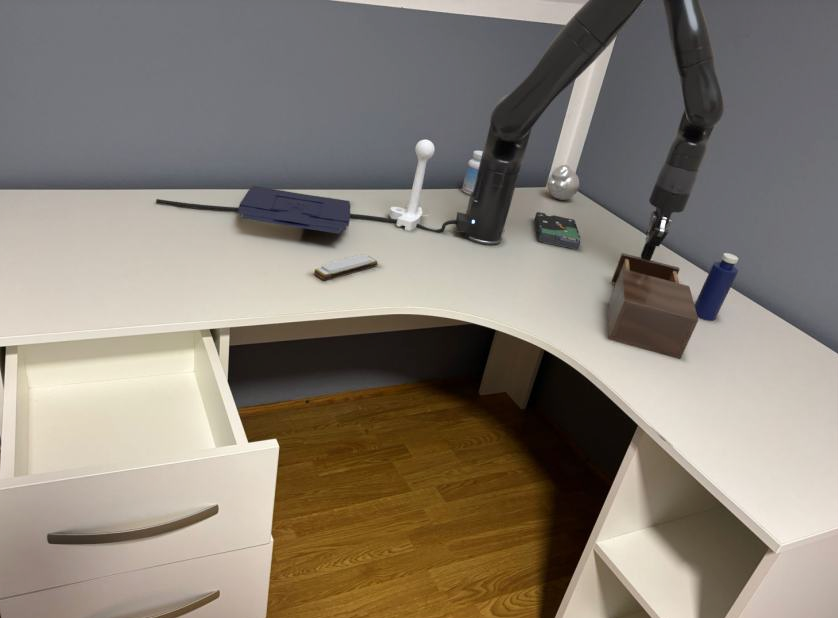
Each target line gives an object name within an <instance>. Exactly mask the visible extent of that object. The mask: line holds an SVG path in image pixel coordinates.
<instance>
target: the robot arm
mask: <svg viewBox="0 0 838 618" xmlns="http://www.w3.org/2000/svg"><path fill="white" fill-rule="evenodd" d="M644 2H645V0H588V1H586V2H585V3H584V4H583V6H581V7H580V8H579V10H578V11H576V12H575V14H574V15H573V16H572V17H571V19H569V20H568V22H566V23H565V25H564V26H563V27H562V28H561V30H560V31H559V32H558V33H557V34H556V36H555V37H554V39H553V40H552V42H550V44H549V45H548V47H547V49H546V50H545V51H544V53H543V54H542V56H541V57H540V59H539V60H538V62H537V64H535V66H534V68H533V69H532V70H531V72H530V73H529V74H528V76H526V77H525V78H524V79H523V81H521V82H520V84H519V85H518V86H517V87H515V89H513V90H512V91H511V92H510V93H507V94H505V95H503V96H502V97H501V98H500V99H499V100H498V101H497V102H496V103H495V105H494V107H493V109H492V111H491V113H490V118H489V119H490V121H489V123H490V124H489V128H488V133H487V136H486V140H485V144H484V147H483V150H482V151H483V153H482V157H481V161H480V165H479V169H478V173H477V177H476V182H475V186H474V190H473V192H471V195H470V196H469V200H468V204H467V207H466V212H460V211H457V214H456V218H455V219H451V220H447V221H445V222H443V223H442V225H441V228H439V229H432V228H429V227H426V226H425V225H422V224H421V223H420V224H417V225H416V228H417V229H421V230H424V231H427V232H432V233H436V234H440V233H443V232H444V231H445V229H446V227H447V226H449V225H455V231H456V232H461V233H462V236H463V239H467V240H470V241H472V242H475V243H478V244H482V245H490V246H491V245H498V244H501V242H502V238H503V235H504V234H505V231H506V230H505V226H506V223H507V219H508V215H509V212H510V208H511V205H512V202H513V197H514V193H515V190H516V186H517V183H518V179H519V176H520V172H521V169H522V165H523V162H524V159H525V154H526V152H527V147H528V144H529V140H530V137H531V133H532V131H533V127H534V126H535V124H536V123H537V122H538V120H539V119H540V117H541V116H542V115H543V114H544V112H545V111H546V110H547V108H548V107H549V106H550V105H551V104H552V102H553V101H554V100H555V99H556V98H557V97H558V96H559V95H560V94H561V93H562V92H563V91H564V90H565V89H566V88H568V87H569V86H570V85H571V84H572V83H573V82H575V81H576V80H577V79H578V78H579V77H580V76H581V75H582V74H583V73H584V72H585V71H586V70H588V68H589V67H590V66H591V65H592V64H593V63H594V62H595V61H596V60H597V59H598V58H599V56H601V54H603V52H604V51H606V49H607V48H608V47H609V46H610V45H611V44H612V43H613V41H614V40H616V38H617V37H618V35H619V34H620V32H622V30H623V29H624V28H625V27H626V25H627V24H628V23H629V22H630V20H631V19H632V17H633V16H634V14H635V13H636V12H637V10H638V9H639V8H640V7H641V5H642V4H643V3H644ZM662 3H663V7H664V11H665V17H666V22H667V28H668V36H669V42H670V47H671V51H672V52H671V53H672V56H673V60H674V66H675V70H676V73H677V76H678V79H679V82H680V86H681V93H682V99H683V106H684V108H683V113H682V115H681V119H680V122H679V125H678V127H677V132H676V135H675V137H674V139H673V142H672V143H671V145H670V147H669V150H668V152H667V156H666V158H665V161H664V163H663V165H662V167H661V169H660V171H659V173H658V176H657V177H656V180H655V183H654V185H653V186H654V187H653V189H652V191H651V194H650V197H649V199H648V202H649V204H650V205H651V206H653V207H655V210H652V211H651V213H650V218H649V222H648V226H647V229H646V232H645V236H646V237H645V242H644V245H643V248H642V250H641V253H640V258H644V259H648V260H652V258H653V255H654V252H655V250H656V248H657V247H660V246H661V244H662V243H663V241H664V240H665V238H666V237H667V235H668V234H669V230H668V229H669V227H670V226H671V224H672V221H673V218H671V217H672V214H673V213H682V212H684V211H685V208H686V206H687V204H688V201H689V198H690V196H691V194H692V193H693V189H694V187H695V184H696V181H697V178H698V174H699V171H700V169H701V166H702V163H703V161H704V159H705V157H706V154H707V150H708V146H709V140H710V138H711V135H712V133H713V131H714V128H715V126H716V125H717V124H719V122H720V121H721V120H722V119H723V116H724V113H725V108H726V107H725V103H724V101H725V100H724V98H723V94H722V90H721V86H720V82H719V78H718V75H717V71H716V58H715V53H714V48H713V44H712V38H711V34H710V30H709V27H708V26H709V25H708V24H707V20H706V16H705V12H704V11H703V6H702V4H701V0H662ZM155 203H156V204H161V205H169V206H176V207H184V208H192V209H203V210H212V211H227V212H238V211H239V209H238V207H239V206H238V207H236V206H224V205H223V206H222V205H211V204H210V205H209V204H198V203H191V202H190V203H189V202H181V201H173V200H166V199H160V198H156V200H155ZM350 218H352V219H361V220H362V219H363V220H371V221H379V222H385V223H386V222H387V223H393V224H396V223H397V219H391V217H382V216H377V215H376V216H374V215H369V214H368V215H366V214H357V213H350Z"/></svg>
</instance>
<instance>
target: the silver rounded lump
mask: <svg viewBox="0 0 838 618" xmlns="http://www.w3.org/2000/svg"><path fill="white" fill-rule="evenodd" d="M546 186H547V190H548V192H549V194H550V195H551V196H552V197H553V198H554V199H556V200H559V201H566V200H570V199H572V198H573V197H575V195H576V194H577V193H578V191H579V188H580V178H579V176H578V174H576V173H575V171H574V170H572V169H571V168H570V166H569V165H567V164H561V165H559V166H558V167H555V168H554V169H553V171H552V174H550V176H549V178H548V180H547V185H546Z"/></svg>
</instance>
